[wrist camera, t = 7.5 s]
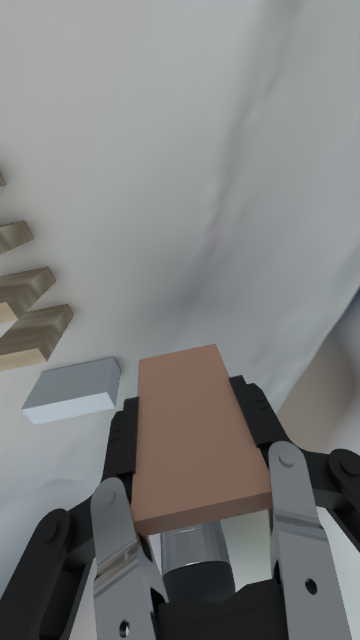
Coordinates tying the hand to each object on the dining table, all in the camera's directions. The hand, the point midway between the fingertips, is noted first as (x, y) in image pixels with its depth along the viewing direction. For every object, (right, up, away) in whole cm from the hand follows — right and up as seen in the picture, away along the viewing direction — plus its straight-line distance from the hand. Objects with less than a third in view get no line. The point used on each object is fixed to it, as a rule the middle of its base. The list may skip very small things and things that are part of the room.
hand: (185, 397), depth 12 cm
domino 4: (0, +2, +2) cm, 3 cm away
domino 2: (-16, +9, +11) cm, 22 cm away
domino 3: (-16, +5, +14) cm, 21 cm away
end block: (-14, -3, +19) cm, 24 cm away
